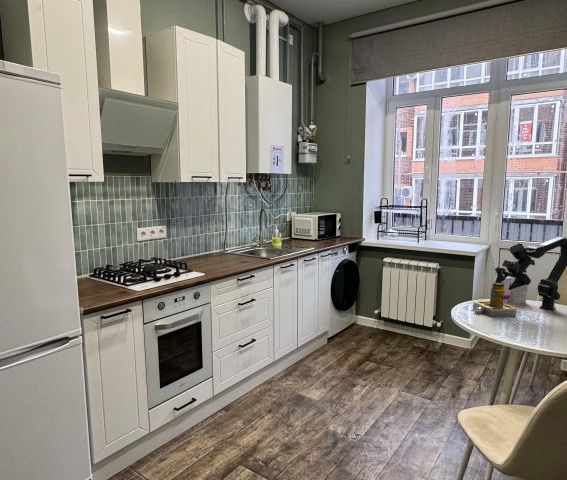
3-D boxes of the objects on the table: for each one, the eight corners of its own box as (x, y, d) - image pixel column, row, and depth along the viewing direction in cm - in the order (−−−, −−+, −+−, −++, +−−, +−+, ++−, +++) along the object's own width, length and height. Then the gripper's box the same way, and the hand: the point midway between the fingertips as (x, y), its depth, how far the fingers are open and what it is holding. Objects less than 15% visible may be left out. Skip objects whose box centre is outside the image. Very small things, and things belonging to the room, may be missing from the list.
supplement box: (501, 299, 232) (503, 274, 230) (513, 298, 235) (516, 273, 232) (513, 303, 224) (516, 277, 222) (526, 303, 226) (529, 277, 224)
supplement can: (508, 302, 227) (510, 276, 225) (509, 305, 219) (512, 279, 217) (492, 299, 230) (494, 274, 228) (492, 303, 223) (495, 277, 221)
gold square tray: (494, 307, 216) (495, 300, 215) (515, 315, 202) (516, 308, 202) (466, 309, 211) (467, 301, 210) (486, 317, 198) (486, 310, 197)
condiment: (506, 308, 204) (508, 285, 202) (490, 308, 203) (492, 285, 201) (498, 304, 211) (500, 281, 209) (482, 303, 210) (484, 281, 209)
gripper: (499, 252, 214) (480, 273, 213) (528, 258, 196) (508, 281, 195) (510, 265, 217) (491, 286, 216) (539, 273, 199) (519, 296, 198)
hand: (501, 287), depth 206 cm, fingers open, 9 cm apart
